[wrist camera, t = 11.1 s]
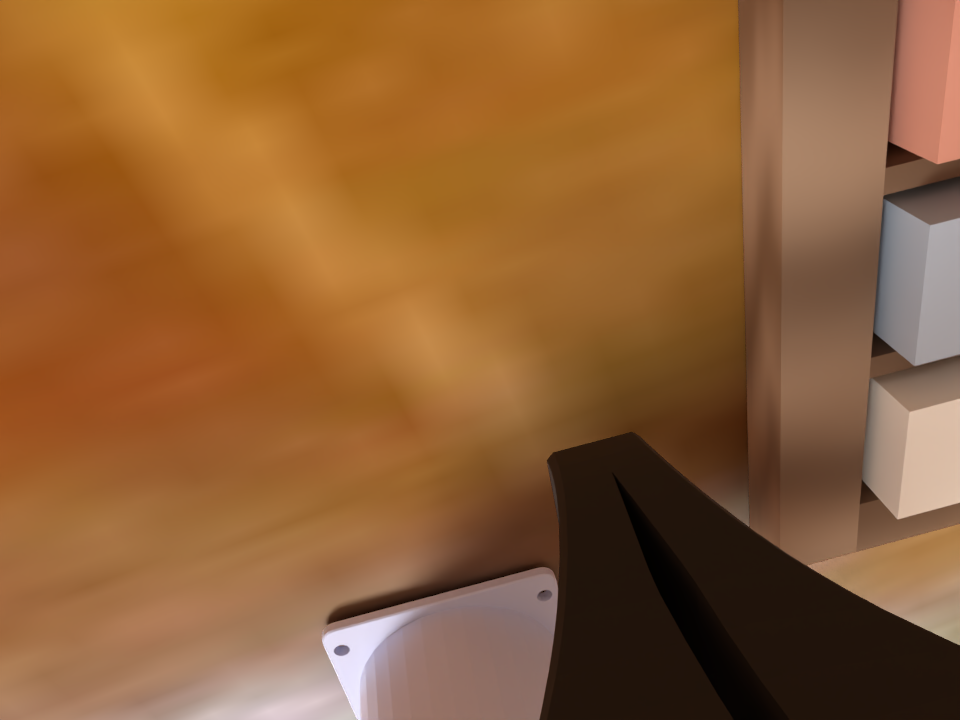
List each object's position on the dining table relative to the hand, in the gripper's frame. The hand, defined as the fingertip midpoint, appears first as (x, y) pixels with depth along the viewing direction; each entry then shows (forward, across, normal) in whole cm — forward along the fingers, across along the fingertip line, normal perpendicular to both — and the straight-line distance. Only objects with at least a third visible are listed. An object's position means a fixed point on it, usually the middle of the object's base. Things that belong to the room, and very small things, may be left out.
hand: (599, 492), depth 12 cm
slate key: (+10, -12, +3) cm, 16 cm away
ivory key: (+10, -12, +9) cm, 18 cm away
